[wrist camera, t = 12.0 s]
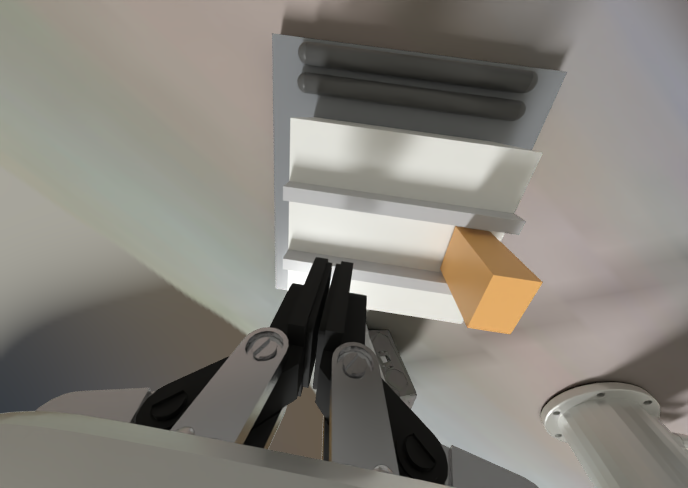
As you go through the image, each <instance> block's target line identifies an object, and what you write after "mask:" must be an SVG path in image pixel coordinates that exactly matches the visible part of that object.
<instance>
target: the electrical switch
mask: <svg viewBox="0 0 688 488" xmlns="http://www.w3.org/2000/svg"><path fill="white" fill-rule="evenodd" d="M365 346H367V347H369V348H370V349H371V350H372V351H373V352H374V354H375V355H376V356H377V359H378V362H379V367H380V373H381V378H382V379H383V380H384V381H385V382H386V383H387V384H388V385H389V386H390V387H391V389H392V390H393V391H394V392H395V393H396V394H397V395H398V396H399V397H400V398H401V399H402V401H403V402H404V403H405V404H406V405H407V406H408V407H409V408H410V409H411V408H412V405H413V403H414V401H415V399H416V396H417V394H416V391H415V388H414V386H413V384H412V382H411V379H410V377H409V375H408V373H407V370H406V368H405V366H404V364H403V361H402V359H401V357H400V355H399V352H398V350H397V348H396V346H395V343H394V341H393V339H392V337H391V334H390V332H389V330H368V328H367V325H366V332H365ZM383 351H386V352H385V353H384V352H383ZM386 357H388V358H389V360H390V361H389V362H387V359H386ZM411 394H412V395H411ZM406 395H407V396H406Z"/></svg>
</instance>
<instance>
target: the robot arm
mask: <svg viewBox="0 0 688 488" xmlns="http://www.w3.org/2000/svg"><path fill="white" fill-rule="evenodd" d="M353 264H354V263H351V262H345V261H341V264H337V263H336V266H335V270H334V273H333V277H332V281H331V285H330V280H331V272H332V263H330V262H328V259H326V258H320V257H316V258H315V260H314V262H313V264H312V267H311V269H310V271H309V274H308V276H307V279H306V281H305V283H304V285H302V284H296V283H292V284H291V286H290V288H289V290H288V292H287V294H286V296H285V298H284V300H283V302H282V304H281V306H280V308H279V310H278V312H277V313H276V315H275V317H274V319H273V321H272V323H271V325H270V327H267V328H260V329H257V330H255V331H253V332H251V333H249V334H248V335H247V336H246V337H245V338H244V339H243V340H242V342H241V343H240V344H239V346H238V347H237V348H236V349H235V350H234V352H233V353H232V354H231V355H230V356H229V357H227V358H224V359H222V360H220V361H218V362H215V363H213V364H211V365H209V366H207V367H204V368H202V369H200V370H198V371H196V372H194V373H191V374H189V375H187V376H185V377H182V378H180V379H178V380H176V381H174V382H171V383H169V384H167V385H165V386H163V387H162V388H160V389H158V390H157V391H150V388H134V389H115V390H95V391H77V392H72V393H67V394H64V395H61V396H59V397H57V398H54V399H52V400H50V401H49V402H47V403H46V404H44V405H43V406H41V407H39V408H38V409H37V410H36V411H24V412H10V413H2V414H0V488H538V487H537V486H536V485H535V484H534V483H532V482H531V481H529V480H528V479H526V478H524V477H522V476H520V475H518V474H516V473H513V472H511V471H509V470H507V469H504V468H502V467H500V466H498V465H496V464H493V463H491V462H489V461H487V460H484V459H482V458H480V457H478V456H475V455H473V454H471V453H469V452H467V451H464V450H462V449H460V448H458V447H455V446H453V445H452V446H451V447H450V448H449V447H446V446H444V445H442V444H441V443H440V442H439V441H438V439H437V438H436V437H435V435H434V434H433V433H432V432H431V431H430V430H429V429H428V428H427V427H426V425H425V424H424V423H423V422H422V421H421V420H420V419H419V418H418V417H417V416H416V415H415V414H414V412H413V411H412V410H411V409H410V408H409V407H408V406H407V405H406V404H405V403H404V402H403V401H402V399H401V398H400V397H399V396H398V395H397V394H396V393H395V392H394V391H393V390H392V389H391V387H390V386H389V385H388V384H387V383H386V382H385V381H384V380H383V379H382V378H381V373H380V367H379V362H378V359H377V356H376V355H375V354H374V352H373V351H372V350H371V349H370V348H369V347H367V346H365V332H366V306H367V295H362V294H356V293H350V285H351V278H352V271H353ZM315 359H316V362H315ZM314 363H315V371H314V381H313V389H317V392H316V401H315V403H316V404H317V406H318V407H319V409H320V410H321V412H322V414H323V415H324V417H323V438H322V460H318V459H314V458H308V457H303V456H298V455H293V454H288V453H283V452H278V451H273V450H268V449H269V446H270V444H271V442H272V440H273V438H274V435H275V433H276V431H277V429H278V426H279V424H280V422H281V420H282V418H283V416H284V413H285V411H286V407H287V405H288V404H290V403H291V402H293V401H294V400H296V399H297V396H301V393H302V389H303V387H307V388H308V387H309V383H310V379H311V375H312V371H313V367H314ZM660 411H661V409H660V405H659V403H658V402H657V401H656V400H655V399H654V398H653V397H652V396H651V395H650V394H649V393H648V392H647V391H646V390H644V389H642V388H640V387H637V386H634V385H631V384H625V383H616V382H604V383H594V384H588V385H583V386H579V387H576V388H573V389H570V390H568V391H565V392H563V393H561V394H559V395H557V396H556V397H554V398H553V399H552V400H550V401H549V402H548V403H547V404H546V405H545V407H544V408H543V410H542V412H541V416H540V417H541V422H542V424H543V426H544V428H545V430H546V431H547V432H548V433H549V435H551V436H552V437H554V438H556V439H558V440H560V441H562V442H566V443H568V444H569V446H570V447H571V449H572V451H573V452H574V454H575V456H576V457H577V459H578V461H579V462H580V464H581V466H582V467H583V469H584V471H585V472H586V474H587V476H588V477H589V479H590V480H591V482H592V484H593V485H594V487H595V488H688V450H687V449H686V448H688V436H687V435H684V434H679V433H671V432H670V430H669V429H668V428H667V427H666V426H665V425H664V424H663V423H662V422H661V421H660V420H659V419H658V418H659V416H660Z"/></svg>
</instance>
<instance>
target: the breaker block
mask: <svg viewBox="0 0 688 488" xmlns="http://www.w3.org/2000/svg"><path fill="white" fill-rule="evenodd" d="M272 51H273V126H274V201H275V275H276V289H283V290H289V288H290V286H291V284H292V283H296V284H302V285H304V283H305V281H306V279H307V276H308V274H309V271H310V269H311V267H312V264H313V262H314V260H315V258H316V257H320V258H326V259H328V262H330V263H332V272H331V280H330V285H331V281H332V277H333V273H334V270H335V266H336V263H337V264H341V261H345V262H351V263H354V264H353V271H352V278H351V285H350V293H356V294H362V295H367V306H366V309H369V310H376V311H382V312H388V313H395V314H401V315H408V316H414V317H421V318H427V319H433V320H440V321H446V322H453V323H459V324H462V322H463V320H464V319H463V317H462V315H461V313H460V311H459V309H458V306H457V304H456V302H455V300H454V298H453V296H452V293H451V291H450V289H449V287H448V285H447V283H446V280H445V278H444V276H443V274H442V272H441V270H440V267H441V264H442V262H443V259H444V256H445V253H446V251H447V248H448V245H449V243H450V240H451V237H452V234H453V232H454V229H455V226H457V227H464V228H471V229H478V230H484V231H490V232H491V233H492V234H493V235H494V236H495V237H496V238H497V239H498V240H499V241H500V242H501V240H502V238H503V236H504V234H505V233H509V234H516V235H519V234H520V232H521V230H522V228H523V226H524V224H525V222H526V221H525V220H523V219H522V218H520V217H519V216H517V215H516V214H514V213H515V210H516V208H517V206H518V204H519V202H520V200H521V198H522V196H523V194H524V192H525V189H526V187H527V185H528V183H529V181H530V179H531V177H532V175H533V173H534V171H535V168H536V166H537V164H538V162H539V160H540V158H541V156H542V154H543V152H538V151H533V150H532V148H533V146H534V144H535V142H536V140H537V137H538V135H539V133H540V131H541V129H542V126H543V124H544V122H545V120H546V118H547V115H548V113H549V111H550V109H551V107H552V104H553V102H554V100H555V98H556V96H557V93H558V91H559V89H560V87H561V85H562V82H563V80H564V78H565V76H566V73H567V72H564V71H557V70H549V69H541V68H534V67H526V66H518V65H511V64H503V63H495V62H488V61H480V60H472V59H465V58H457V57H449V56H442V55H434V54H426V53H419V52H411V51H403V50H396V49H388V48H380V47H373V46H365V45H357V44H350V43H342V42H334V41H327V40H319V39H311V38H303V37H296V36H288V35H280V34H273V33H272Z"/></svg>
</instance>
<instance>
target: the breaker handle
mask: <svg viewBox="0 0 688 488" xmlns="http://www.w3.org/2000/svg"><path fill="white" fill-rule="evenodd" d="M440 270H441V272H442V274H443V276H444V278H445V280H446V283H447V285H448V287H449V289H450V291H451V293H452V296H453V298H454V300H455V302H456V304H457V306H458V309H459V311H460V313H461V315H462V317H463V319H464V322H465V324H466V326H467V328H473V329H480V330H486V331H493V332H499V333H505V334H511V333H512V331H513V329H514V328H515V326H516V325H517V323H518V321H519V320H520V318H521V317H522V315H523V313H524V312H525V310H526V308H527V307H528V305H529V304H530V302H531V300H532V299H533V297H534V296H535V294H536V292H537V291H538V289H539V288H540V286H541V284H542V283H543V282H542V281H541V280H540V279H539V278H538V277H537V276H536V275H534V274H533V273H532V272H531V271H530V270H529V269H528V268H527V267H526V266H525V265H524V264H523V263H522V262H521V261H520V260H519V259H518V258H517V257H516V256H515V255H514V254H513V253H512V252H511V251H510V250H509V249H507V248H506V247H505V246H504V245H503V244H502V243H501V242H500V241H499V240H498V239H497V238H496V237H495V236H494V235H493V234H492V233H491V232H490V231H484V230H478V229H471V228H464V227H457V226H455V229H454V232H453V234H452V237H451V240H450V243H449V245H448V248H447V251H446V253H445V256H444V259H443V262H442V264H441V267H440Z"/></svg>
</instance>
